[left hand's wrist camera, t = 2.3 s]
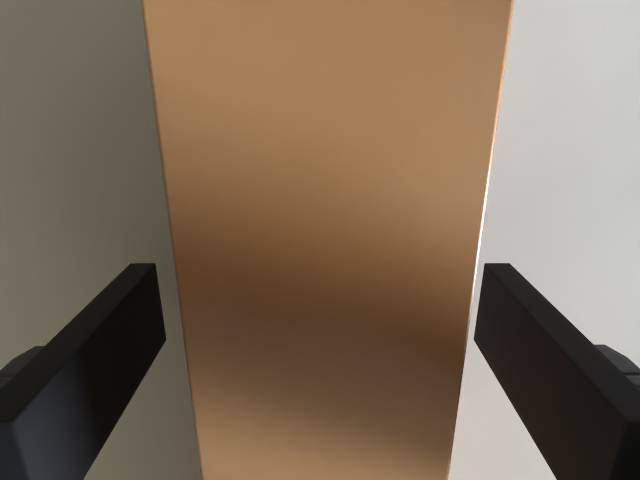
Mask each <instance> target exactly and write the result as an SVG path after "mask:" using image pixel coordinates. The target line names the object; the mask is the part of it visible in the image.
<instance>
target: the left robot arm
mask: <svg viewBox="0 0 640 480" xmlns="http://www.w3.org/2000/svg"><path fill="white" fill-rule="evenodd" d="M165 341H166V334H165V327H164V320H163V313H162V306H161V299H160V293H159V286H158V279H157V272H156V265H155V263H131V264H129V265H128V266H127V267H126V268H125V269H124V270H123V271H122V272H121V273H120V274H119V275H118V276H117V277H116V278H115V279H114V280H113V281H112V282H111V283H110V284H109V285H108V286H107V287H106V288H105V289H104V290H103V291H102V292H100V293H99V294H98V295H97V296H96V297H95V298H94V299H93V300H92V301H91V302H90V303H89V304H88V305H87V306H86V307H85V308H84V309H83V310H82V311H81V312H80V313H79V314H78V315H77V316H76V317H75V318H74V319H73V320H72V321H70V322H69V323H68V324H67V325H66V326H65V327H64V328H63V329H62V330H61V331H60V332H59V333H58V334H57V335H56V336H55V337H54V338H53V339H52V340H51V341H50V342H49V343H48V344H47V345H46V346H35V347H33V348H32V349H30V350H28V351H26V352H25V353H23V354H21V355H19V356H18V357H16V358H14V359H13V360H11V361H10V362H9V363H8V364H7V365H6V366H5V367H4V368H3V369H2V370H0V480H83V479H84V477H85V476H86V474H87V472H88V471H89V469H90V467H91V465H92V464H93V462H94V460H95V459H96V457H97V455H98V454H99V452H100V450H101V449H102V447H103V445H104V444H105V442H106V440H107V439H108V437H109V435H110V433H111V432H112V430H113V428H114V427H115V425H116V423H117V422H118V420H119V418H120V417H121V415H122V413H123V412H124V410H125V408H126V407H127V405H128V403H129V401H130V400H131V398H132V396H133V395H134V393H135V391H136V390H137V388H138V386H139V385H140V383H141V381H142V380H143V378H144V376H145V374H146V373H147V371H148V369H149V368H150V366H151V364H152V363H153V361H154V359H155V358H156V356H157V354H158V353H159V351H160V349H161V348H162V346H163V344H164V342H165ZM474 341H475V342H476V344H477V346H478V348H479V349H480V351H481V353H482V354H483V356H484V358H485V359H486V361H487V363H488V364H489V366H490V368H491V369H492V371H493V373H494V374H495V376H496V378H497V380H498V381H499V383H500V385H501V386H502V388H503V390H504V391H505V393H506V395H507V396H508V398H509V400H510V401H511V403H512V405H513V406H514V408H515V410H516V412H517V413H518V415H519V417H520V418H521V420H522V422H523V423H524V425H525V427H526V428H527V430H528V432H529V433H530V435H531V437H532V439H533V440H534V442H535V444H536V445H537V447H538V449H539V450H540V452H541V454H542V455H543V457H544V459H545V460H546V462H547V464H548V465H549V467H550V469H551V471H552V472H553V474H554V476H555V477H556V479H557V480H640V368H638V367H637V366H636V365H635V364H634V363H633V362H632V361H631V360H630V359H628V358H627V357H626V356H624V355H622V354H620V353H618V352H617V351H615V350H613V349H611V348H610V347H608V346H606V345H593V344H592V343H591V342H590V341H589V340H588V339H587V338H586V337H585V336H584V335H583V334H582V333H581V332H580V331H579V330H578V329H577V328H576V327H575V326H574V325H573V324H572V323H571V322H570V321H569V320H567V319H566V318H565V317H564V316H563V315H562V314H561V313H560V312H559V311H558V310H557V309H556V308H555V307H554V306H553V305H552V304H551V303H550V302H549V301H548V300H547V299H546V298H545V297H544V296H543V295H542V294H541V293H540V292H538V291H537V290H536V289H535V288H534V287H533V286H532V285H531V284H530V283H529V282H528V281H527V280H526V279H525V278H524V277H523V276H522V275H521V274H520V273H519V272H518V271H517V270H516V269H515V268H514V267H513V266H512V265H511V264H509V263H485V265H484V272H483V279H482V286H481V293H480V300H479V306H478V313H477V320H476V327H475V334H474Z"/></svg>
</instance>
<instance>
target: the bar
mask: <svg viewBox="0 0 640 480" xmlns="http://www.w3.org/2000/svg"><path fill="white" fill-rule="evenodd" d="M513 5H514V0H141V6H142V14H143V22H144V30H145V38H146V46H147V53H148V61H149V69H150V77H151V85H152V93H153V101H154V108H155V116H156V124H157V132H158V140H159V148H160V155H161V163H162V171H163V179H164V187H165V195H166V202H167V210H168V218H169V226H170V234H171V242H172V249H173V257H174V265H175V273H176V281H177V289H178V296H179V304H180V312H181V320H182V328H183V336H184V344H185V351H186V359H187V367H188V375H189V383H190V391H191V398H192V406H193V414H194V422H195V430H196V438H197V445H198V453H199V461H200V469H201V477H202V480H448V476H449V468H450V461H451V454H452V447H453V439H454V432H455V425H456V418H457V410H458V403H459V396H460V389H461V382H462V374H463V367H464V360H465V353H466V345H467V338H468V331H469V324H470V316H471V309H472V302H473V295H474V287H475V280H476V273H477V266H478V258H479V251H480V244H481V237H482V229H483V222H484V215H485V208H486V201H487V193H488V186H489V179H490V172H491V164H492V157H493V150H494V143H495V135H496V128H497V121H498V114H499V106H500V99H501V92H502V85H503V77H504V70H505V63H506V56H507V48H508V41H509V34H510V27H511V19H512V12H513Z"/></svg>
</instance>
